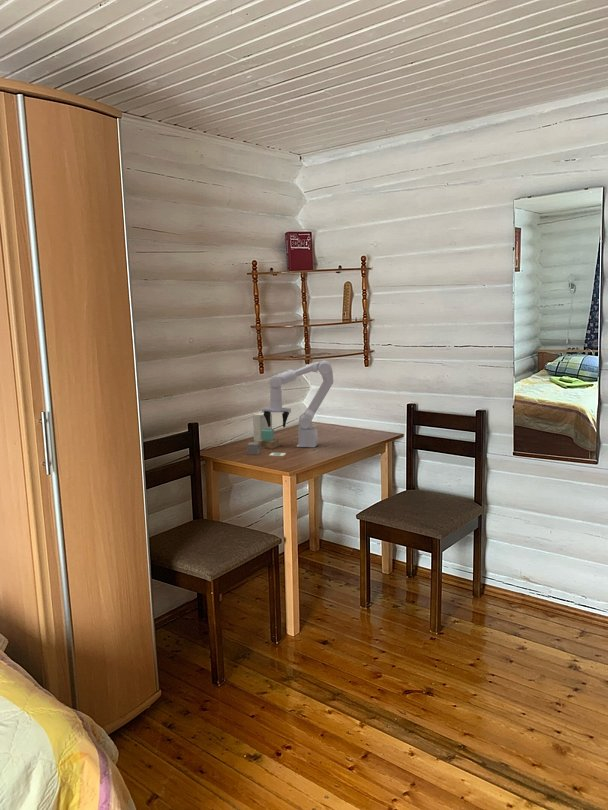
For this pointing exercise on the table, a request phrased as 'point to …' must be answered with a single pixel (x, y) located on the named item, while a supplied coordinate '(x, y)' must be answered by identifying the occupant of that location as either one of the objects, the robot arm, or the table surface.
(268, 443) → the walnut block
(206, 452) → the table surface
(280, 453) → the card
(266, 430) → the teal cube
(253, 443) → the charcoal cube
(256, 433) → the skincare box
